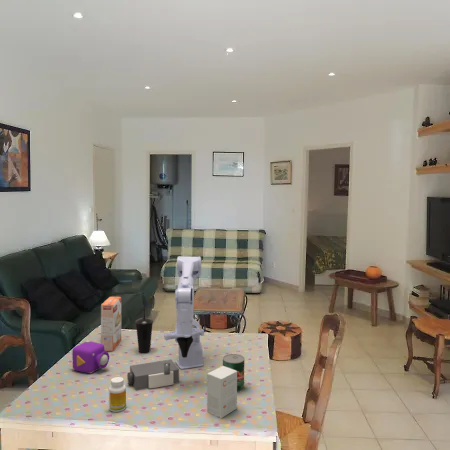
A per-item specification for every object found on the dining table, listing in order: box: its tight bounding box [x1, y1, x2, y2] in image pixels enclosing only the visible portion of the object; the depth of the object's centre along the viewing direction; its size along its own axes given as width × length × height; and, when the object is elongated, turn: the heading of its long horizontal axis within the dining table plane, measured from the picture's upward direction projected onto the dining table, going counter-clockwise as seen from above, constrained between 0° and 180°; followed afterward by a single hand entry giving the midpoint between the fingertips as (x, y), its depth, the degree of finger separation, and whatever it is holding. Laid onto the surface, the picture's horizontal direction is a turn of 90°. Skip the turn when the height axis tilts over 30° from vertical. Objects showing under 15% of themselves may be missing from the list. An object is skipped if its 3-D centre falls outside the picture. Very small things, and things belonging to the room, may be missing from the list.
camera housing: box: [126, 359, 180, 391], centre depth 162 cm, size 18×10×5 cm, turn 113°
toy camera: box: [71, 339, 110, 374], centre depth 171 cm, size 11×14×10 cm
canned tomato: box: [222, 353, 246, 393], centre depth 157 cm, size 8×8×11 cm
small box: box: [206, 365, 238, 419], centre depth 141 cm, size 8×6×13 cm
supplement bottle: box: [108, 376, 127, 413], centre depth 142 cm, size 5×5×10 cm
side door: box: [147, 363, 174, 389], centre depth 156 cm, size 9×2×8 cm, turn 114°
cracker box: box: [100, 296, 122, 352], centre depth 195 cm, size 14×6×21 cm, turn 179°
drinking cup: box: [134, 306, 154, 355], centre depth 189 cm, size 8×8×20 cm
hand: (184, 356), depth 159 cm, fingers closed
